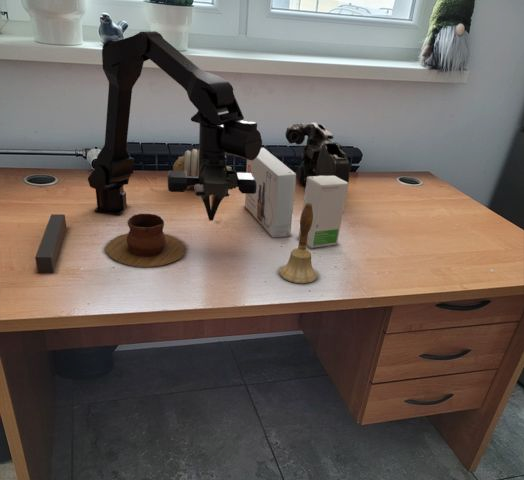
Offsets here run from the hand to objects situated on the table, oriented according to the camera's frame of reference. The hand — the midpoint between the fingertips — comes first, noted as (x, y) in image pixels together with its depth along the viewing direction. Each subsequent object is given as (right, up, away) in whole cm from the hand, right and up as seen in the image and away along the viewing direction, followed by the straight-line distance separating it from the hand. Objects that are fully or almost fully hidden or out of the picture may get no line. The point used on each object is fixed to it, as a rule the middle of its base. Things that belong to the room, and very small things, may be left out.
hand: (210, 219), depth 115 cm
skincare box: (+12, +5, +21) cm, 25 cm away
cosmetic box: (+25, -2, +13) cm, 29 cm away
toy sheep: (-6, +19, +37) cm, 42 cm away
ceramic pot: (-15, -6, +2) cm, 16 cm away
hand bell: (+20, -13, -2) cm, 23 cm away
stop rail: (-34, -7, -2) cm, 35 cm away
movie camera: (+28, +20, +44) cm, 56 cm away
